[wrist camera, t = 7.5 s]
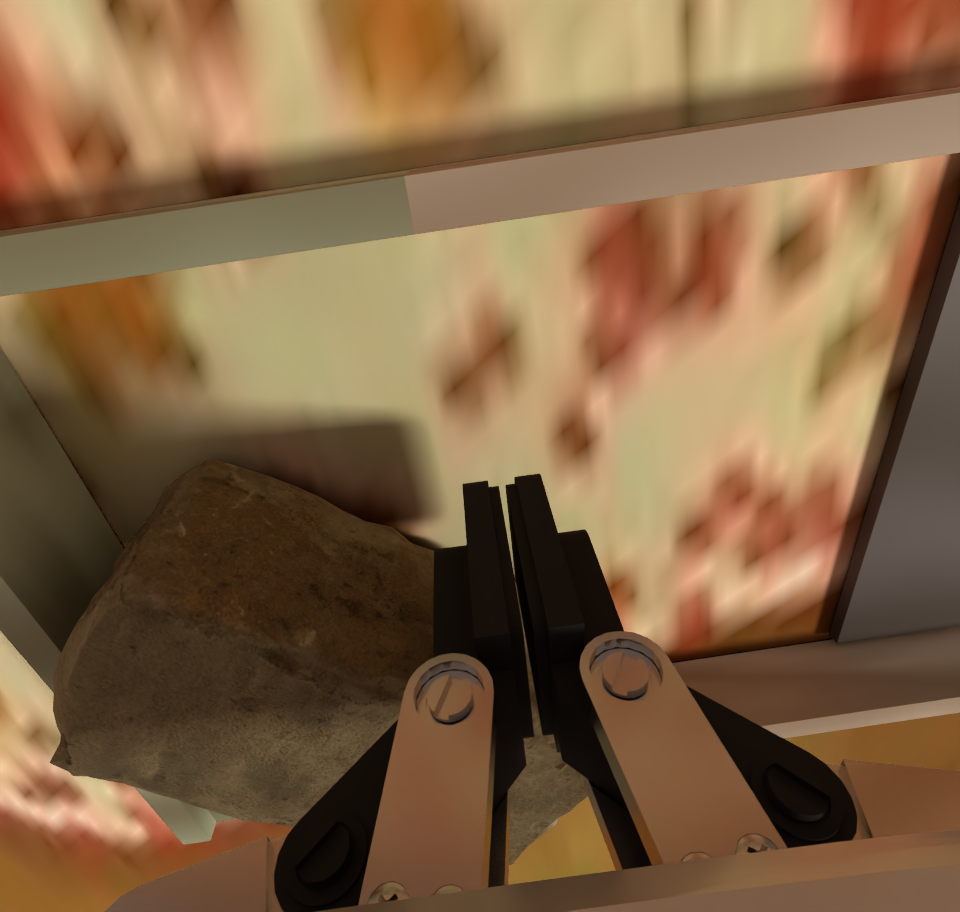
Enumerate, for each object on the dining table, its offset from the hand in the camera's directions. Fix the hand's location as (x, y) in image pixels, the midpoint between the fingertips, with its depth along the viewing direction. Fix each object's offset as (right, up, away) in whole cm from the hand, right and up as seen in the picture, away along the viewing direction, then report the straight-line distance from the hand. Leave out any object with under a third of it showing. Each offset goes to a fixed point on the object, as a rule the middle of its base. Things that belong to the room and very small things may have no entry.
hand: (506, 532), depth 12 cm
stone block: (-4, -2, +3) cm, 5 cm away
